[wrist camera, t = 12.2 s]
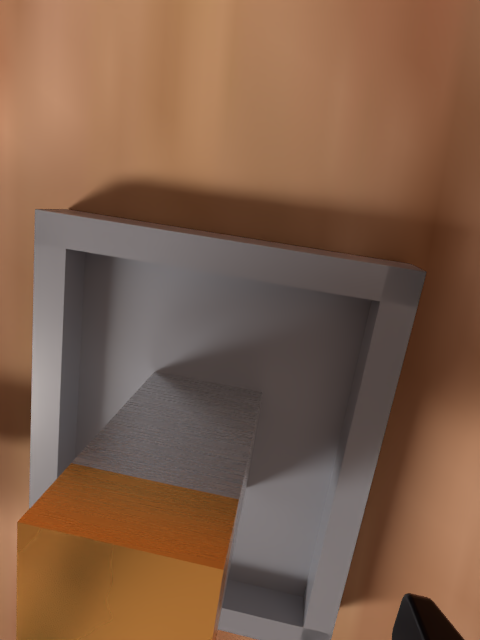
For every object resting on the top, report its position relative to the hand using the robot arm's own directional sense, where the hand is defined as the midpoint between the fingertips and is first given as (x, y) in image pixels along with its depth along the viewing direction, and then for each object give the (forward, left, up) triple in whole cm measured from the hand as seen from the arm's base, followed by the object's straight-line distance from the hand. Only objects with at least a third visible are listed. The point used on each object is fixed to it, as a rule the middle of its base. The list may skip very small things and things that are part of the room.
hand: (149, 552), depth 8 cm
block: (0, 0, -4) cm, 5 cm away
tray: (0, 0, -5) cm, 5 cm away
